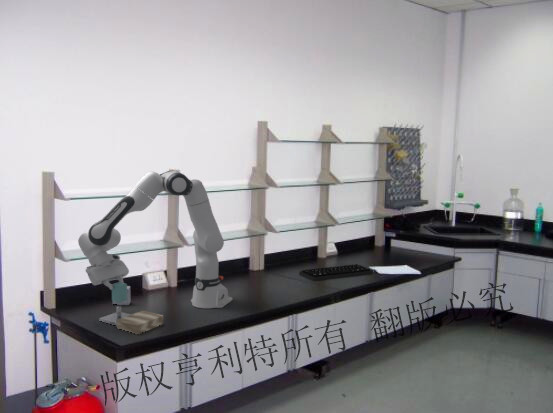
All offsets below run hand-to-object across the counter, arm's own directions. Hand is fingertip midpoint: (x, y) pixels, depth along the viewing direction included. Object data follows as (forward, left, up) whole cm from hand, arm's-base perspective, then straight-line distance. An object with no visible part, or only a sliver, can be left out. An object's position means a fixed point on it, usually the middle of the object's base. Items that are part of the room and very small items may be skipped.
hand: (117, 287), depth 250 cm
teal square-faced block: (0, +1, -6) cm, 6 cm away
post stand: (0, +1, -15) cm, 15 cm away
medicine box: (-18, -15, -16) cm, 28 cm away
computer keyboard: (-138, +48, -16) cm, 147 cm away
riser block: (0, +14, -15) cm, 21 cm away
